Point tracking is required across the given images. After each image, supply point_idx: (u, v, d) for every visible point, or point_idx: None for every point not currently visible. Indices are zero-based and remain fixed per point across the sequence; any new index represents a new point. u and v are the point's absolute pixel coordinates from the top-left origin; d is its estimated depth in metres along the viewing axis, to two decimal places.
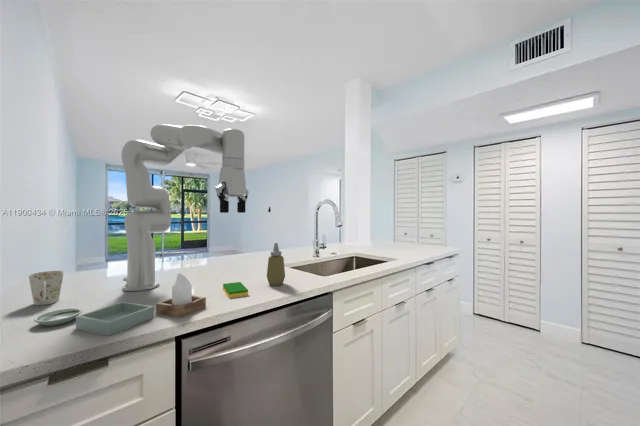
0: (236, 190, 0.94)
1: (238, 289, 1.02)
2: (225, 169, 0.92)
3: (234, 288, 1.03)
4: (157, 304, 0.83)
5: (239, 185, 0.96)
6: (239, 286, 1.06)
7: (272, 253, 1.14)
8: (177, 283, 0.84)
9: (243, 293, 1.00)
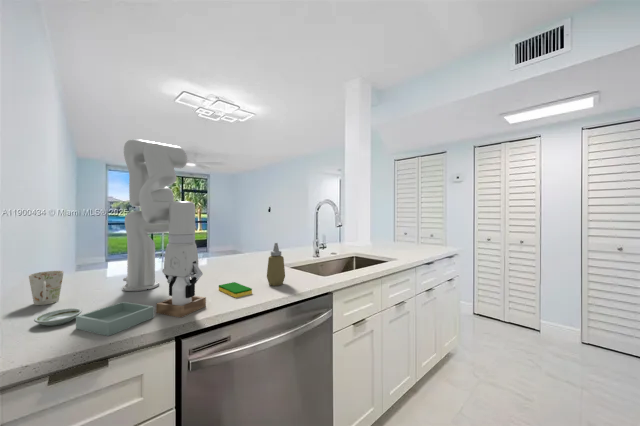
0: None
1: (241, 288, 1.03)
2: (193, 247, 0.85)
3: (236, 288, 1.03)
4: (157, 304, 0.83)
5: None
6: (239, 286, 1.06)
7: (272, 253, 1.14)
8: (177, 283, 0.84)
9: (248, 292, 1.02)
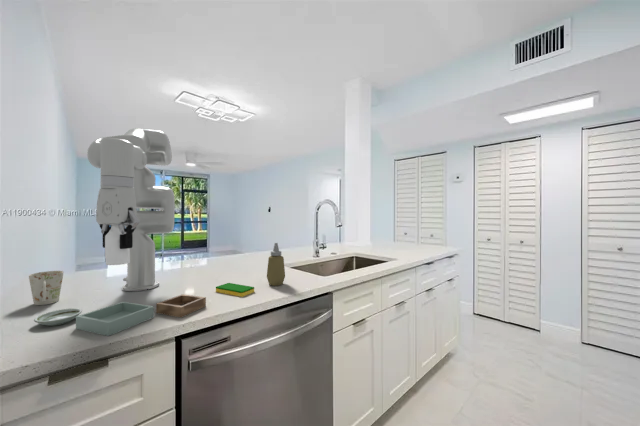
0: None
1: (244, 288, 1.04)
2: (129, 192, 0.74)
3: (238, 288, 1.04)
4: (157, 304, 0.83)
5: None
6: (238, 285, 1.07)
7: (272, 253, 1.14)
8: (110, 232, 0.74)
9: (251, 290, 1.04)
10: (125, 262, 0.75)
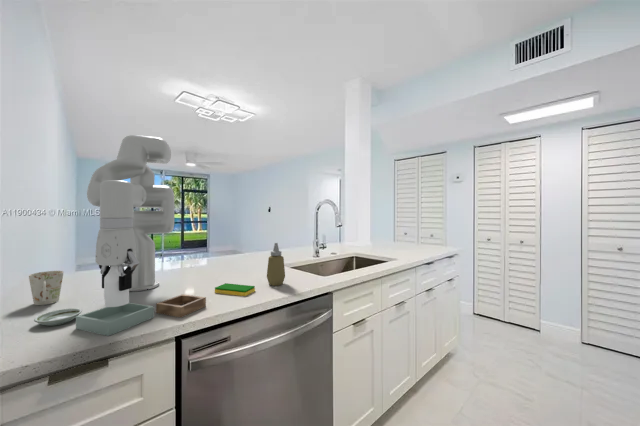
0: None
1: (245, 287, 1.05)
2: (129, 233, 0.74)
3: (239, 287, 1.04)
4: (157, 304, 0.83)
5: None
6: (238, 285, 1.07)
7: (272, 253, 1.14)
8: (109, 274, 0.74)
9: (252, 289, 1.05)
10: (124, 303, 0.75)
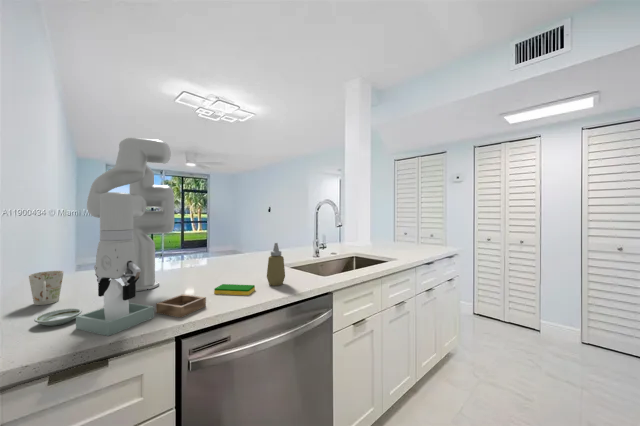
0: None
1: (246, 286, 1.05)
2: (129, 245, 0.74)
3: (240, 287, 1.04)
4: (157, 304, 0.83)
5: None
6: (237, 285, 1.07)
7: (272, 253, 1.14)
8: (109, 290, 0.74)
9: (253, 288, 1.06)
10: None
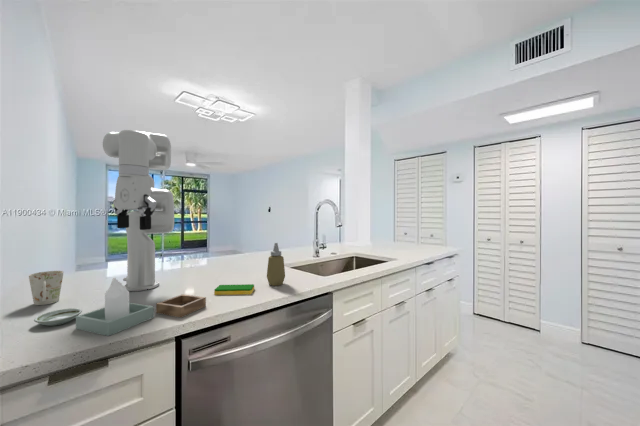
0: None
1: (246, 286, 1.06)
2: (145, 180, 0.80)
3: (240, 287, 1.05)
4: (157, 304, 0.83)
5: None
6: (236, 285, 1.07)
7: (272, 253, 1.14)
8: (110, 289, 0.74)
9: (253, 287, 1.08)
10: None
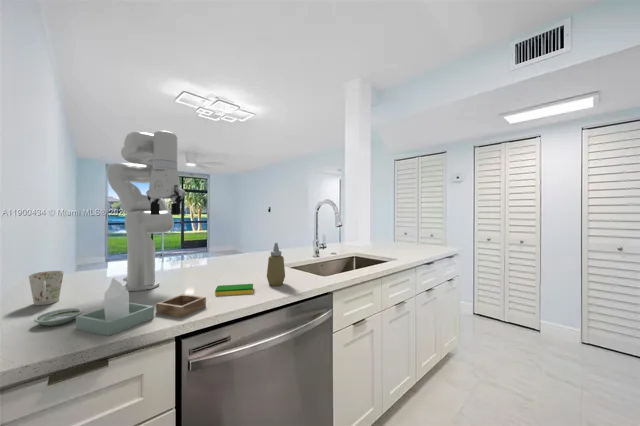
0: None
1: (246, 285, 1.07)
2: (175, 173, 0.95)
3: (241, 286, 1.05)
4: (157, 304, 0.83)
5: None
6: (236, 285, 1.07)
7: (272, 253, 1.14)
8: (110, 290, 0.74)
9: None
10: None
